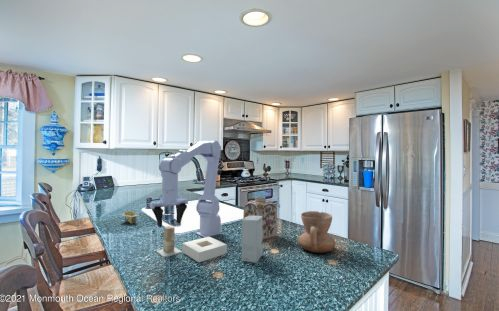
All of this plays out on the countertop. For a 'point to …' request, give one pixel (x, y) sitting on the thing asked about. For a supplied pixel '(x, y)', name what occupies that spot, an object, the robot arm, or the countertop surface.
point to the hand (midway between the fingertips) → (169, 224)
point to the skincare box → (252, 238)
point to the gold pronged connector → (130, 216)
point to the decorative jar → (263, 215)
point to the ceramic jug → (316, 232)
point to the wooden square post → (168, 239)
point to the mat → (164, 254)
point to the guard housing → (204, 249)
